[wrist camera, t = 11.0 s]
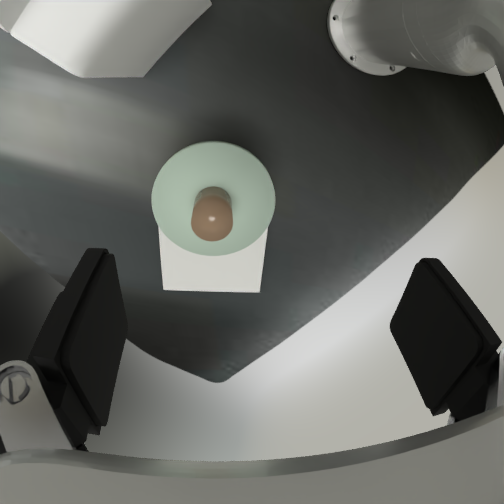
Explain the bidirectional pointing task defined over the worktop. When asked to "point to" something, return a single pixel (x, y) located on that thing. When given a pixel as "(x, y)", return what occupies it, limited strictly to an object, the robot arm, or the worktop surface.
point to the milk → (100, 32)
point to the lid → (213, 198)
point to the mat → (212, 268)
